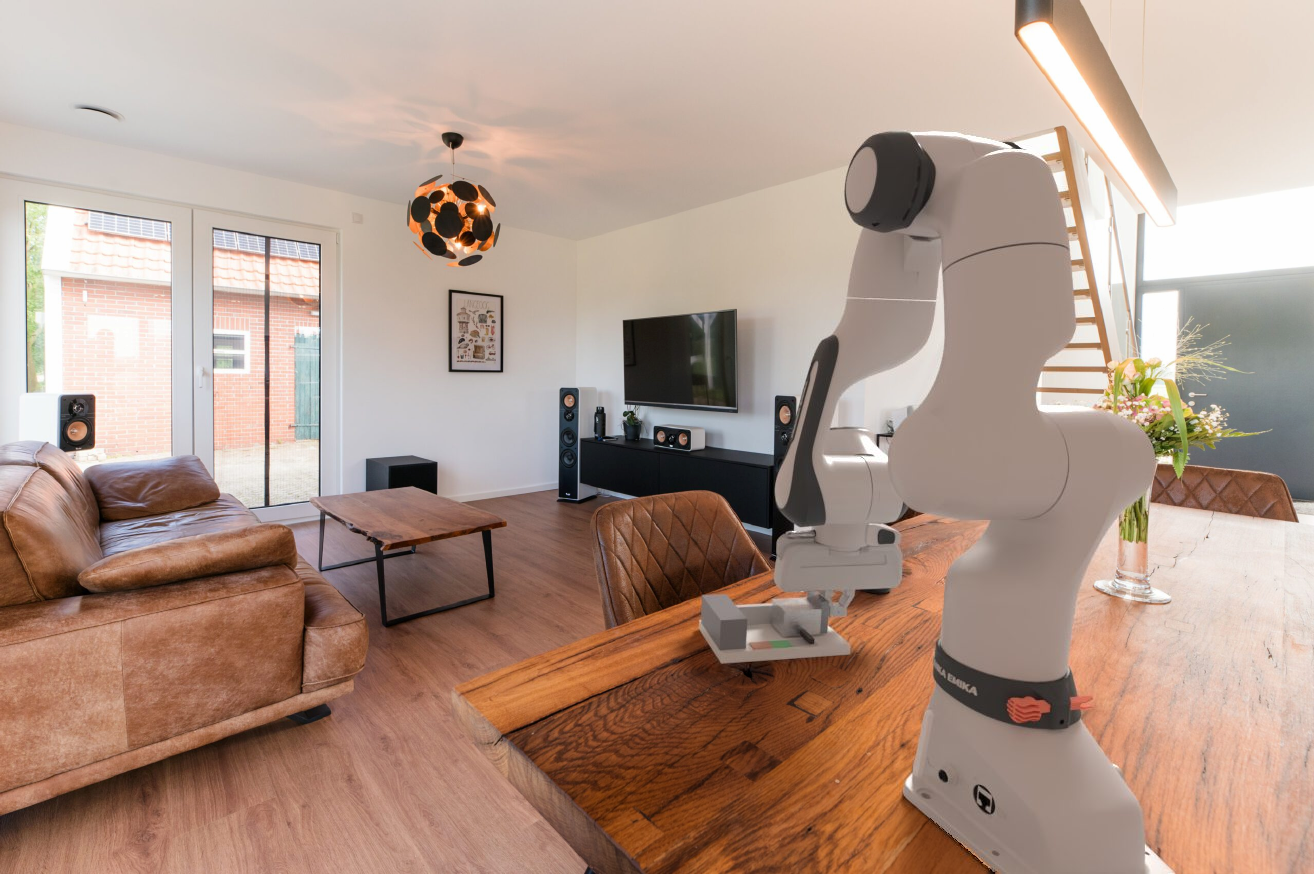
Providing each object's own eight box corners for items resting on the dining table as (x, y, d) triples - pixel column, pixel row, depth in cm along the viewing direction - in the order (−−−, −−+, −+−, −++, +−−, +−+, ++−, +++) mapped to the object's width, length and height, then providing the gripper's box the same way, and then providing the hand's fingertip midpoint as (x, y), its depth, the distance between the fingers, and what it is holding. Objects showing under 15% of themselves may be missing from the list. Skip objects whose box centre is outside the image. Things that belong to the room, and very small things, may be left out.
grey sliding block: (838, 643, 92) (840, 610, 91) (792, 646, 90) (794, 612, 90) (812, 620, 100) (814, 590, 100) (770, 623, 99) (772, 592, 98)
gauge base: (850, 654, 92) (852, 615, 92) (721, 663, 88) (722, 622, 88) (814, 622, 104) (816, 587, 103) (699, 628, 100) (700, 592, 99)
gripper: (785, 536, 91) (781, 626, 93) (911, 533, 95) (904, 620, 97) (769, 526, 98) (765, 610, 99) (888, 523, 101) (882, 605, 103)
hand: (835, 615), depth 98 cm, fingers closed
